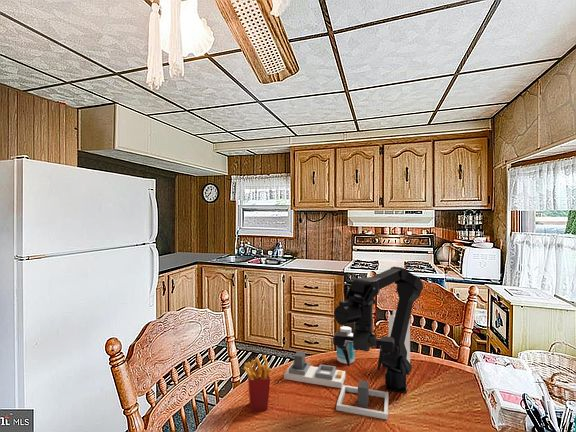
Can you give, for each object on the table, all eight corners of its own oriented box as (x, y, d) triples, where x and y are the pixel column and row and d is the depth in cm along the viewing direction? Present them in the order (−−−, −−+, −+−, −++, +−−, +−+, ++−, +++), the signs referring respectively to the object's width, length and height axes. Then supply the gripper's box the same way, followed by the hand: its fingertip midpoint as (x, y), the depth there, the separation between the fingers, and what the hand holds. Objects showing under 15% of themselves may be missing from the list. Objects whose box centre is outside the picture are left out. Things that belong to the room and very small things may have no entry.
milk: (410, 367, 130) (410, 311, 130) (396, 369, 128) (397, 312, 128) (400, 360, 136) (401, 307, 136) (388, 362, 134) (388, 308, 134)
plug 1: (305, 367, 125) (305, 352, 125) (301, 373, 120) (301, 356, 120) (297, 366, 125) (297, 350, 126) (294, 371, 121) (294, 355, 121)
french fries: (270, 411, 99) (271, 361, 100) (243, 414, 98) (243, 364, 98) (266, 396, 108) (266, 350, 108) (241, 399, 106) (241, 352, 106)
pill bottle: (356, 364, 132) (356, 331, 132) (337, 364, 132) (338, 330, 132) (353, 357, 139) (353, 325, 140) (335, 356, 140) (335, 324, 140)
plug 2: (368, 400, 106) (368, 381, 106) (367, 408, 102) (367, 388, 102) (359, 398, 107) (359, 380, 107) (357, 406, 103) (357, 387, 103)
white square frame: (388, 396, 108) (388, 392, 108) (387, 419, 96) (387, 414, 96) (342, 389, 113) (342, 384, 113) (336, 410, 100) (336, 405, 100)
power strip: (345, 376, 122) (345, 367, 122) (341, 388, 113) (341, 378, 113) (291, 368, 129) (291, 359, 129) (284, 378, 120) (284, 369, 120)
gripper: (329, 323, 100) (329, 375, 100) (393, 330, 94) (394, 384, 94) (336, 313, 110) (336, 360, 110) (394, 319, 105) (394, 368, 104)
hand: (363, 368), depth 104 cm, fingers open, 9 cm apart
